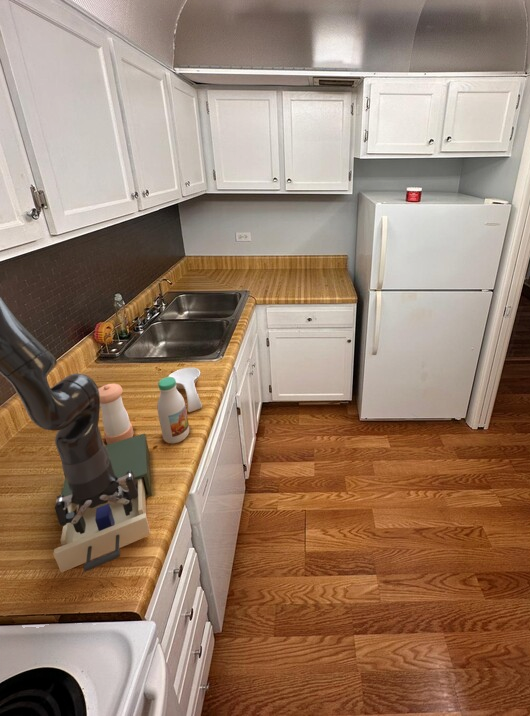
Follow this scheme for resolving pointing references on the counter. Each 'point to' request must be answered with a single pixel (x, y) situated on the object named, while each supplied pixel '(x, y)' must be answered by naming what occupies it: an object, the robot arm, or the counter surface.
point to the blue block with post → (104, 517)
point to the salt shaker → (114, 414)
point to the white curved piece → (188, 385)
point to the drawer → (103, 534)
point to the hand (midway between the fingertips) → (106, 520)
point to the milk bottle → (172, 412)
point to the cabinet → (127, 461)
